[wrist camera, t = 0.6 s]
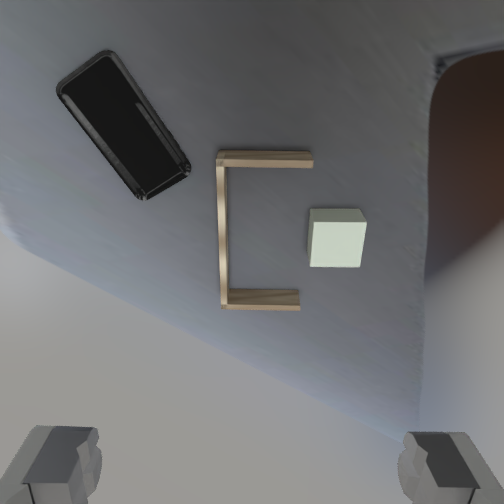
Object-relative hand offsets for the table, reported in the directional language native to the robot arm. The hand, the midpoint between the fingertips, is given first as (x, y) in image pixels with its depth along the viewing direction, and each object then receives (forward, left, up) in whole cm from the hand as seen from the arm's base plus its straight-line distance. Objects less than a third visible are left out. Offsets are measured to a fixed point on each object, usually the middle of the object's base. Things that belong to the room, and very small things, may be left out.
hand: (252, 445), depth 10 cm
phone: (+1, -14, -39) cm, 41 cm away
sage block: (+13, +10, -38) cm, 41 cm away
